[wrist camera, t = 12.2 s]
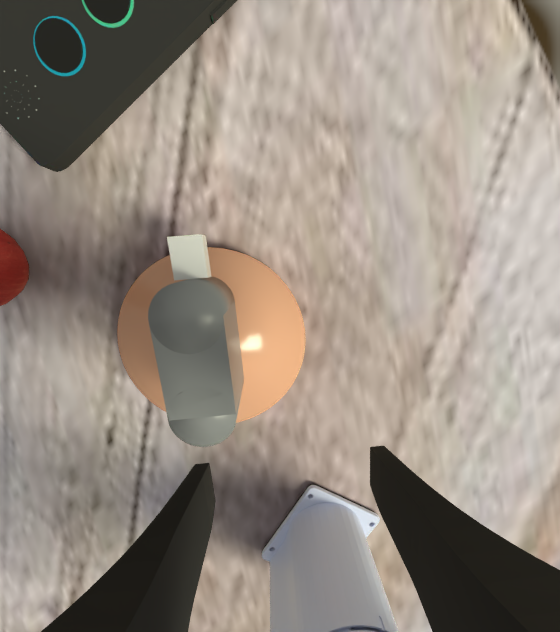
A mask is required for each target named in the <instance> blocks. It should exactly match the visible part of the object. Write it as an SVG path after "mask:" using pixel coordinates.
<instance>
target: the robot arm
mask: <svg viewBox="0 0 560 632" xmlns="http://www.w3.org/2000/svg"><path fill="white" fill-rule="evenodd" d="M370 486H371V489H372V492H373V495H374V497H375V500H376V503H377V506H378V508H379V511H380V513H381V515H382V518H383V520H384V522H385V524H386V526H387V528H388V530H389V532H390V535H391V537H392V539H393V541H394V543H395V545H396V547H397V549H398V551H399V553H400V555H401V558H402V560H403V562H404V564H405V566H406V568H407V570H408V572H409V574H410V577H411V579H412V581H413V583H414V586H415V588H416V590H417V593H418V595H419V598H420V600H421V603H422V606H423V608H424V611H425V613H426V616H427V618H428V621H429V623H430V626H431V629H432V631H433V632H560V570H558V569H556V568H555V567H553V566H551V565H549V564H547V563H545V562H544V561H542V560H540V559H538V558H536V557H534V556H533V555H531V554H529V553H527V552H526V551H524V550H522V549H520V548H519V547H517V546H515V545H514V544H512V543H510V542H509V541H507V540H506V539H504V538H502V537H501V536H499V535H497V534H496V533H494V532H493V531H491V530H489V529H488V528H486V527H485V526H483V525H482V524H480V523H479V522H477V521H476V520H474V519H473V518H471V517H470V516H469V515H467V514H466V513H464V512H463V511H461V510H460V509H459V508H457V507H456V506H454V505H453V504H452V503H450V502H449V501H448V500H447V499H445V498H444V497H443V496H441V495H440V494H439V493H438V492H436V491H435V490H434V489H433V488H431V487H430V486H429V485H428V484H426V483H425V482H424V481H423V480H422V479H421V478H419V477H418V476H417V475H416V474H415V473H414V472H412V471H411V470H410V469H409V468H408V467H407V466H406V465H405V464H403V463H402V462H401V461H400V460H399V459H398V458H397V457H396V456H395V455H393V454H392V453H391V452H390V451H389V450H388V449H387V448H386V447H385V446H376V447H370ZM309 494H311V495H309ZM214 507H215V495H214V489H213V483H212V477H211V471H210V464H209V463H204V464H195V465H194V467H193V468H192V469H191V471H190V472H189V474H188V475H187V476H186V478H185V479H184V481H183V482H182V483H181V485H180V486H179V488H178V489H177V490H176V492H175V493H174V494H173V496H172V497H171V498H170V500H169V501H168V502H167V504H166V505H165V506H164V508H163V509H162V510H161V511H160V513H159V514H158V515H157V516H156V518H155V519H154V520H153V521H152V522H151V524H150V525H149V526H148V527H147V529H146V530H145V531H144V532H143V533H142V535H141V536H140V537H139V538H138V539H137V540H136V541H135V543H134V544H133V545H132V546H131V547H130V548H129V549H128V550H127V551H126V552H125V553H124V555H123V556H122V557H121V558H120V559H119V560H118V561H117V562H116V563H115V564H114V565H113V566H112V567H111V568H110V569H109V570H108V571H107V572H106V573H105V574H104V575H103V576H102V577H101V578H100V579H99V580H98V581H97V582H96V583H95V584H94V585H93V586H92V587H91V588H90V589H89V590H88V591H87V592H85V593H84V594H83V595H82V596H81V597H80V598H79V599H78V600H77V601H76V602H74V603H73V604H72V605H71V606H70V607H69V608H68V609H67V610H66V611H64V612H63V613H62V614H61V615H60V616H59V617H57V618H56V619H55V620H54V621H53V622H52V623H51V624H49V625H48V626H47V627H46V628H45V629H43V630H42V631H41V632H188V628H189V622H190V616H191V611H192V607H193V602H194V598H195V594H196V590H197V586H198V581H199V577H200V573H201V569H202V565H203V561H204V557H205V553H206V549H207V545H208V541H209V537H210V533H211V528H212V522H213V515H214ZM379 521H380V518H379V516H378V514H376V513H374V512H372V511H370V510H368V509H366V508H364V507H361V506H359V505H357V504H355V503H353V502H351V501H348V500H346V499H344V498H342V497H340V496H338V495H336V494H333V493H331V492H329V491H327V490H325V489H323V488H321V487H318V486H316V485H310V486H309V487H308V488H307V490H306V491H305V492H304V494H303V495H302V497H301V498H300V499H299V501H298V502H297V503H296V505H295V506H294V508H293V509H292V510H291V512H290V513H289V515H288V516H287V517H286V519H285V520H284V522H283V523H282V524H281V526H280V527H279V529H278V530H277V531H276V533H275V534H274V536H273V537H272V538H271V540H270V541H269V542H268V544H267V545H266V547H265V548H264V549H263V551H262V558H263V559H264V560H267V561H269V562H270V632H399V631H398V628H397V625H396V622H395V619H394V616H393V613H392V611H391V608H390V605H389V602H388V599H387V596H386V593H385V591H384V588H383V585H382V582H381V579H380V576H379V573H378V571H377V568H376V565H375V562H374V559H373V556H372V553H371V551H370V548H369V545H368V542H367V539H366V538H367V536H368V535H369V534H370V533H371V531H372V530H373V529H374V528H375V526H376V525H377V524H378V523H379Z"/></svg>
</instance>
